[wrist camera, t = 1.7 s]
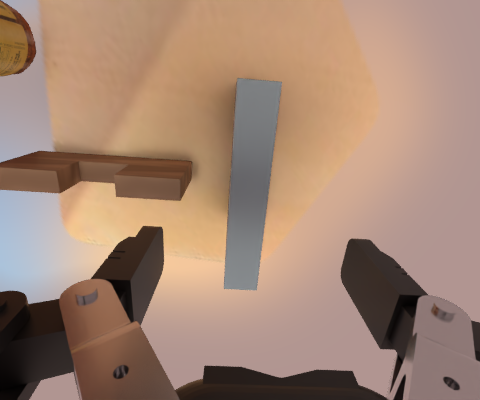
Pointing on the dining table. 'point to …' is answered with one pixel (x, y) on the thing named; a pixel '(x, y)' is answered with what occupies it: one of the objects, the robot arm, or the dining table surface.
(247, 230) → the grey block
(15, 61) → the sauce bottle
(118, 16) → the dining table surface
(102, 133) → the dining table surface
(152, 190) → the walnut board
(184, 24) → the dining table surface
